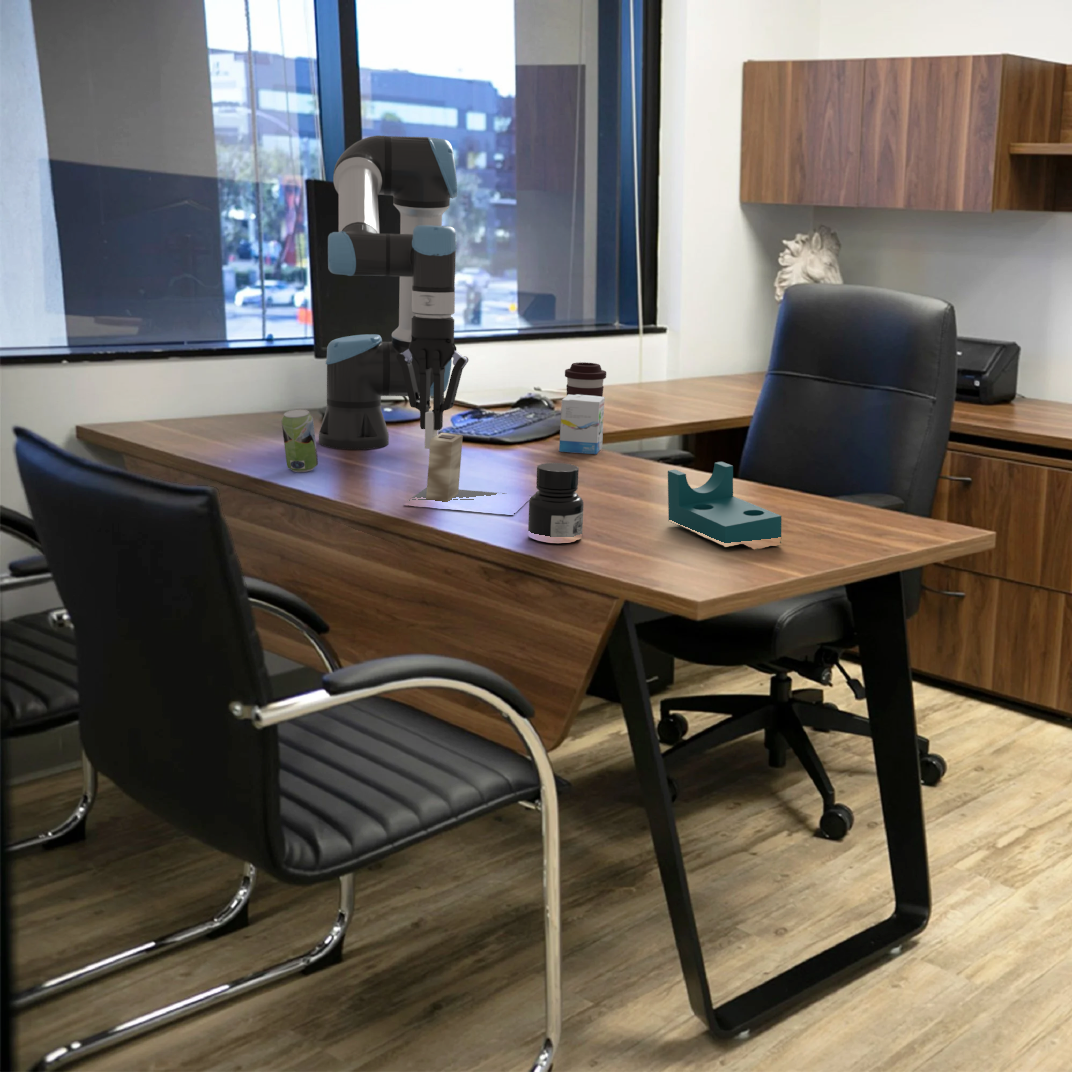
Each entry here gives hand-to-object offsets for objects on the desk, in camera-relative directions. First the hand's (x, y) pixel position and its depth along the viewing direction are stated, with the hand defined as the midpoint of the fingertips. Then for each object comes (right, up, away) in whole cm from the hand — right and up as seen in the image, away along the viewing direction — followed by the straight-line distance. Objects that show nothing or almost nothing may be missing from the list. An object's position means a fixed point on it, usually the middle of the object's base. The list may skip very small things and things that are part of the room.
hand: (430, 447), depth 236 cm
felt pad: (+7, -10, +1) cm, 12 cm away
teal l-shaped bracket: (+51, -16, -15) cm, 55 cm away
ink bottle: (+22, -17, -21) cm, 35 cm away
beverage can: (-27, -3, +21) cm, 35 cm away
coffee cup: (+30, +10, +80) cm, 87 cm away
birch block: (+2, -9, +2) cm, 9 cm away
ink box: (+29, +3, +52) cm, 60 cm away
